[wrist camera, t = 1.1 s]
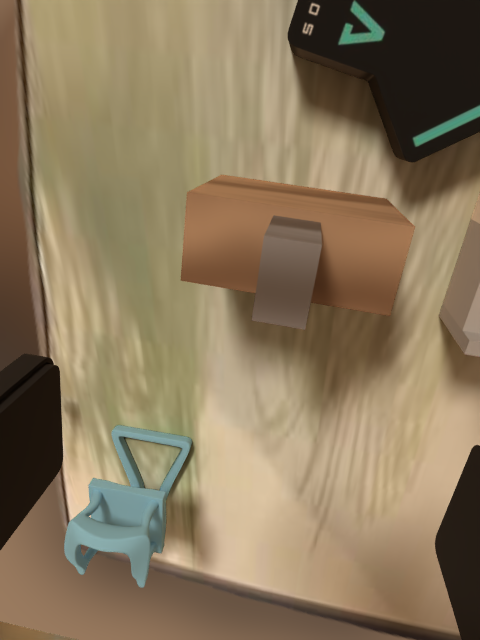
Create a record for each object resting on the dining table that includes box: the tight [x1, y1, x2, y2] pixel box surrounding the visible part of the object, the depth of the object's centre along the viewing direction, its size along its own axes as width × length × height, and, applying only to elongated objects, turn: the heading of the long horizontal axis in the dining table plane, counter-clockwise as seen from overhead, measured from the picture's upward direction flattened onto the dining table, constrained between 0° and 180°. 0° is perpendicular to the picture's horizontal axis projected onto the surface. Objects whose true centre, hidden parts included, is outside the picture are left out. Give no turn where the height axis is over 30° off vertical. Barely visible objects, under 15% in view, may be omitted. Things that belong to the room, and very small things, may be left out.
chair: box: [64, 425, 192, 587], centre depth 40 cm, size 8×8×12 cm
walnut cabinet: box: [181, 175, 415, 330], centre depth 27 cm, size 5×12×15 cm, turn 83°
